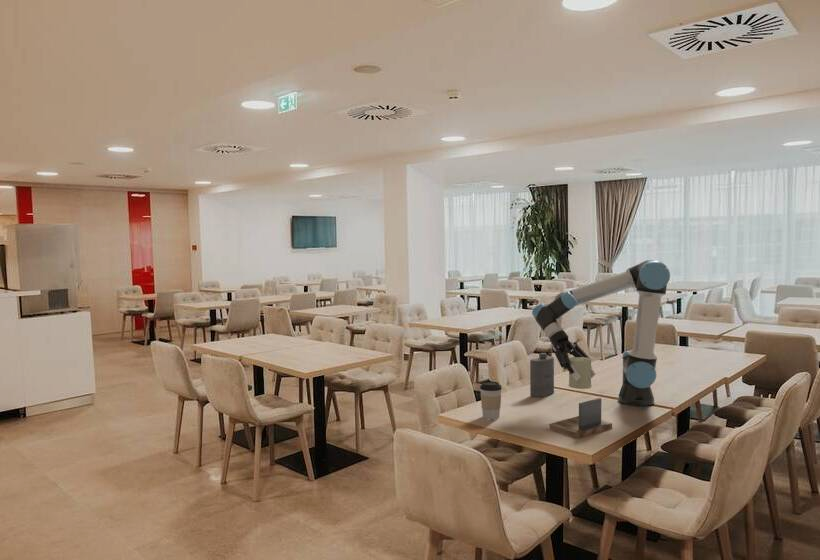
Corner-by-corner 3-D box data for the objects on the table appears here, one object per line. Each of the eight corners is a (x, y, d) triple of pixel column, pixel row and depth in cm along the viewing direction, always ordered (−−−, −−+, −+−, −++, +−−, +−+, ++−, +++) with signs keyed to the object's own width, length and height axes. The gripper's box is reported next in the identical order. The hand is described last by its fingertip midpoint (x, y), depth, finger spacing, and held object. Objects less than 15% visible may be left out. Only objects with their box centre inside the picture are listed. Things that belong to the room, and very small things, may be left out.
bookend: (599, 423, 226) (599, 398, 225) (605, 425, 224) (605, 399, 223) (578, 429, 219) (578, 403, 219) (585, 431, 217) (585, 405, 216)
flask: (538, 398, 270) (537, 356, 269) (528, 396, 274) (528, 354, 273) (557, 393, 280) (557, 352, 278) (547, 390, 284) (547, 350, 283)
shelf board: (583, 419, 237) (583, 414, 237) (612, 428, 226) (612, 423, 226) (549, 428, 226) (549, 423, 226) (578, 438, 215) (578, 433, 215)
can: (585, 390, 237) (585, 361, 236) (564, 386, 243) (564, 358, 242) (595, 385, 243) (595, 357, 243) (574, 382, 250) (574, 355, 249)
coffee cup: (505, 419, 240) (505, 383, 239) (485, 421, 237) (485, 385, 236) (496, 413, 248) (496, 378, 247) (476, 415, 246) (476, 380, 245)
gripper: (568, 337, 261) (597, 378, 248) (534, 343, 249) (563, 386, 236) (577, 327, 256) (608, 368, 244) (543, 332, 244) (573, 376, 232)
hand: (586, 377), depth 240 cm, fingers closed on can, 9 cm apart
